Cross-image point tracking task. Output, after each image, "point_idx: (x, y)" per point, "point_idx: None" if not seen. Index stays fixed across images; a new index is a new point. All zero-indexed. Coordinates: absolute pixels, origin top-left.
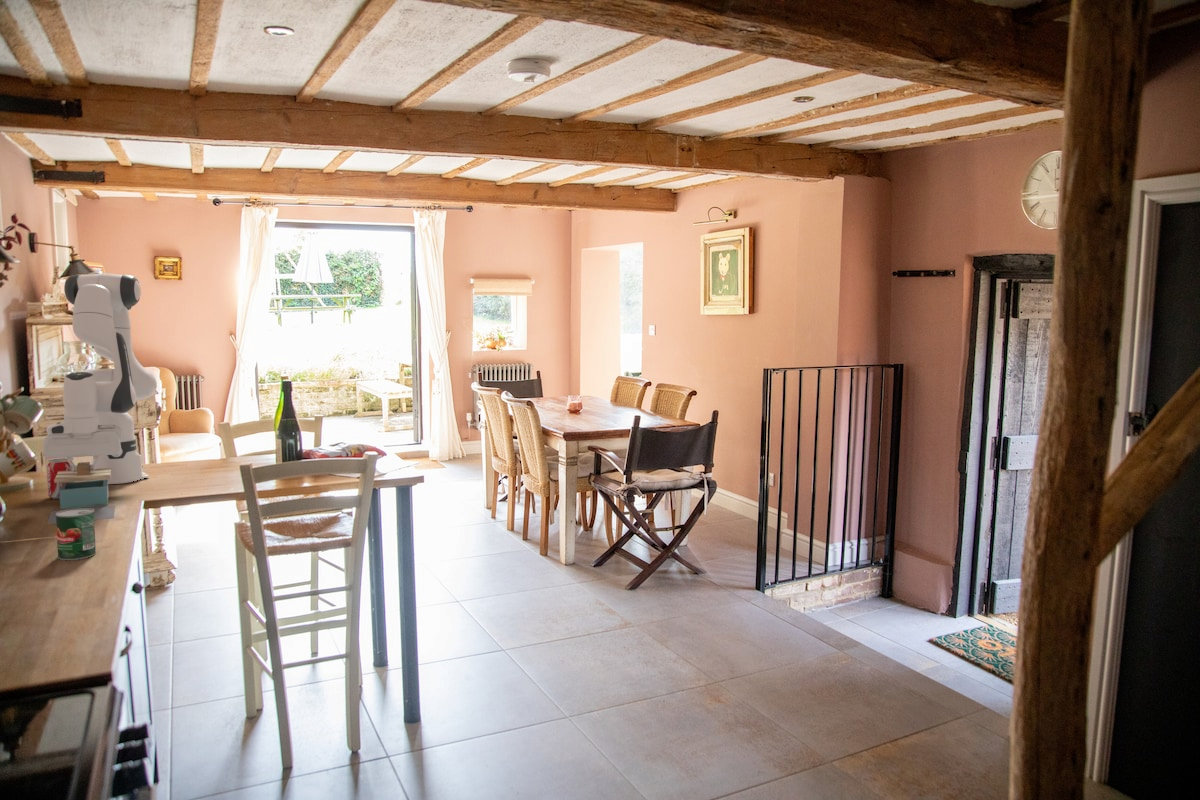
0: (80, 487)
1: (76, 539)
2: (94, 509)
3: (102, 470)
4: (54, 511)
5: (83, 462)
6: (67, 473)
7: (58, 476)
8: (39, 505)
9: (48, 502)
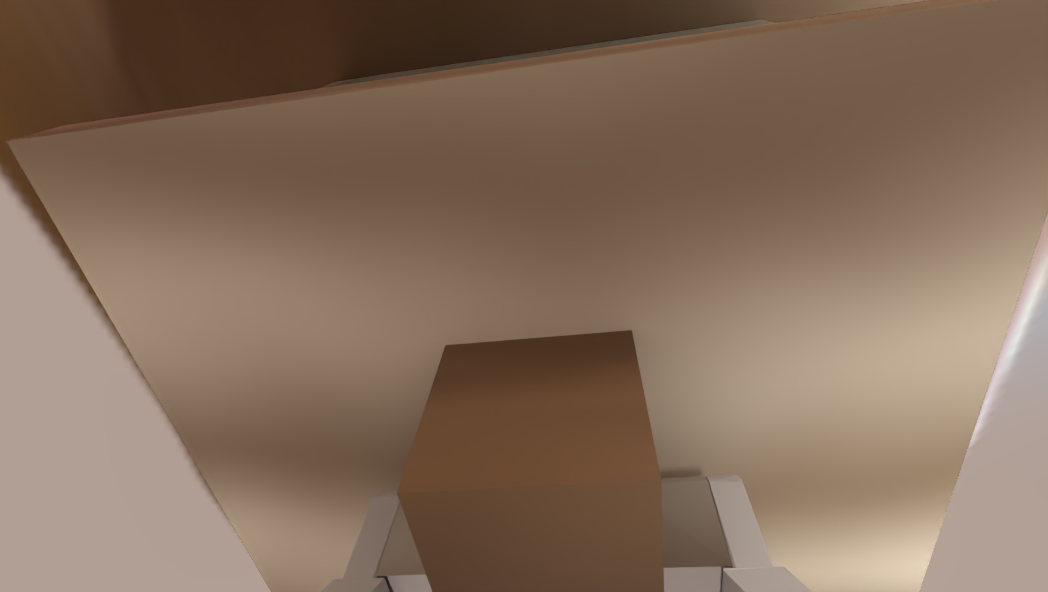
0: None
1: None
2: None
3: (856, 288)
4: None
5: (517, 503)
6: (299, 397)
7: (280, 557)
8: None
9: (202, 73)
